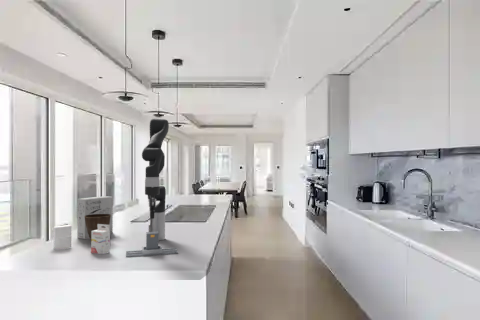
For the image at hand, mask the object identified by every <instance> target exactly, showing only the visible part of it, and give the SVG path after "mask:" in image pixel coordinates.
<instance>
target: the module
mask: <svg viewBox="0 0 480 320" xmlns="http://www.w3.org/2000/svg"><path fill="white" fill-rule="evenodd" d="M145 236H146V237H145V242H146V243H145V247H146V250H150V249H158V246H159V241H158V232H149V231H147V232H146V233H145Z"/></svg>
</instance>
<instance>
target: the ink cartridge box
mask: <svg viewBox="0 0 480 320" xmlns="http://www.w3.org/2000/svg"><path fill="white" fill-rule="evenodd" d="M101 226H104V227H106V228H102V227H101ZM97 227H98V230H93V231H91V240H90V243H91V244H90V245H91V247H90V253H92V254H99V255H105V254H108V253H110V251H111V250H110V249H111V248H110V247H111V246H110V245H111V242H110V239H111V238H110V237H111V234H110V229H109V225H104V224H97Z"/></svg>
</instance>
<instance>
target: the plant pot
mask: <svg viewBox="0 0 480 320" xmlns="http://www.w3.org/2000/svg"><path fill="white" fill-rule="evenodd" d="M84 217H85V224H86V228H87V232H88V235H89V238H88V239H89V240H90V241H91V231H93V230H98V227H97V224H104V225H109V224H110V218H111V215H110V214H92V215H86V216H84ZM101 227H102V228H106V227H104V226H101Z"/></svg>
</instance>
